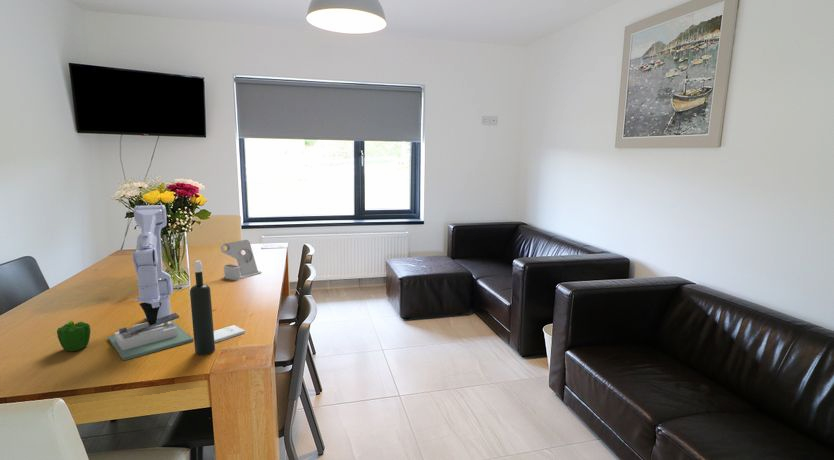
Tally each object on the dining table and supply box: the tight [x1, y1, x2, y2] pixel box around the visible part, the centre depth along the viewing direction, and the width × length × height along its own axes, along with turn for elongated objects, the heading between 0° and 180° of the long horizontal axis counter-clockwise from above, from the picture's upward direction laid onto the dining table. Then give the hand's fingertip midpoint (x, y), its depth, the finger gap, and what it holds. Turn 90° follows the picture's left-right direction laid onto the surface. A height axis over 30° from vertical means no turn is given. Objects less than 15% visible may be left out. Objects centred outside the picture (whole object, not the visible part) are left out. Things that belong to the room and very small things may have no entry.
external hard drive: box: [214, 324, 246, 344], centre depth 149 cm, size 2×8×12 cm
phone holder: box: [220, 239, 262, 281], centre depth 224 cm, size 17×10×18 cm, turn 148°
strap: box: [122, 312, 180, 335], centre depth 144 cm, size 16×4×1 cm, turn 136°
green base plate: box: [107, 320, 194, 361], centre depth 144 cm, size 22×20×6 cm
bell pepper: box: [56, 320, 91, 352], centre depth 137 cm, size 8×8×10 cm
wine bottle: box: [189, 260, 216, 356], centre depth 134 cm, size 6×6×30 cm
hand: (152, 322), depth 145 cm, fingers closed, pressing on strap
